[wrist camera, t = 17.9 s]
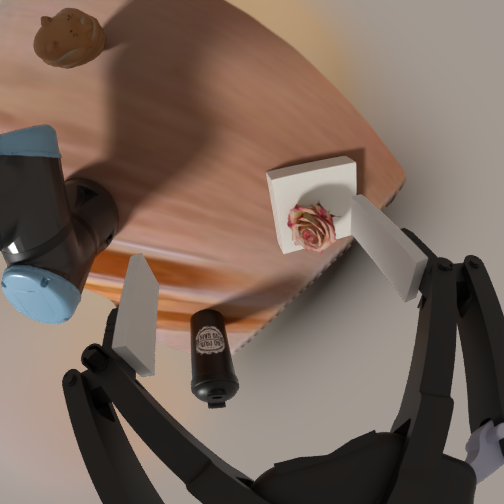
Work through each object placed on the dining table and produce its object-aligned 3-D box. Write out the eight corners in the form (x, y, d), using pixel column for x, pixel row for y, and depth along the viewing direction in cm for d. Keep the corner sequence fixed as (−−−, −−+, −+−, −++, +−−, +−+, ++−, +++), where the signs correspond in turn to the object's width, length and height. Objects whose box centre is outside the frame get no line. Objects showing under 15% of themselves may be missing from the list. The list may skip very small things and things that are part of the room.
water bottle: (227, 306, 65) (243, 391, 47) (226, 331, 71) (240, 408, 53) (185, 308, 63) (190, 395, 45) (188, 333, 69) (194, 412, 51)
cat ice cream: (125, 56, 30) (81, 45, 15) (83, 78, 30) (23, 85, 15) (112, 15, 24) (67, -14, 10) (71, 37, 24) (10, 27, 10)
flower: (354, 214, 46) (344, 245, 41) (324, 235, 53) (311, 264, 49) (313, 178, 44) (297, 205, 40) (286, 205, 52) (269, 232, 48)
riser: (278, 242, 57) (283, 254, 53) (265, 171, 47) (271, 179, 44) (346, 224, 57) (355, 233, 54) (345, 155, 47) (356, 162, 44)
